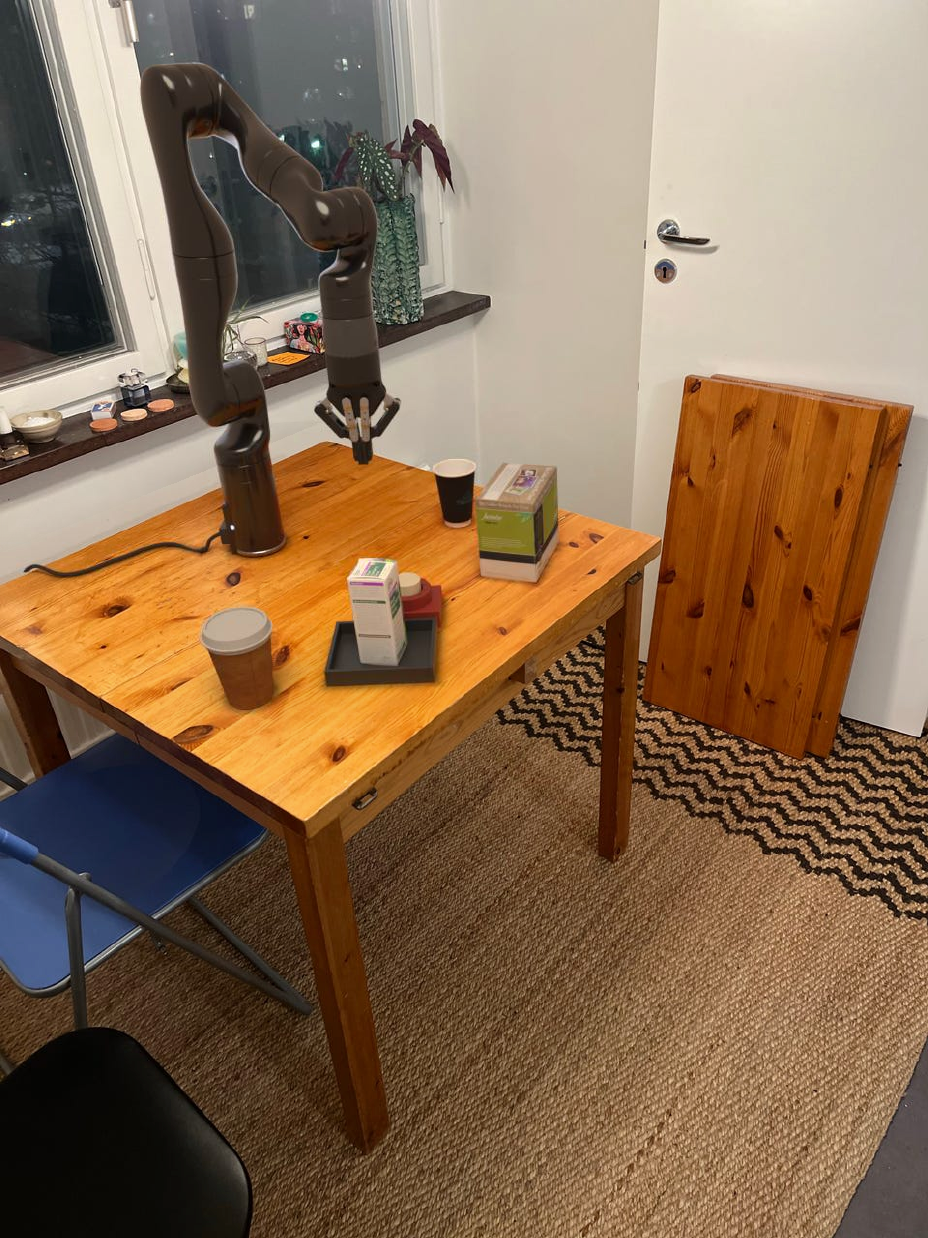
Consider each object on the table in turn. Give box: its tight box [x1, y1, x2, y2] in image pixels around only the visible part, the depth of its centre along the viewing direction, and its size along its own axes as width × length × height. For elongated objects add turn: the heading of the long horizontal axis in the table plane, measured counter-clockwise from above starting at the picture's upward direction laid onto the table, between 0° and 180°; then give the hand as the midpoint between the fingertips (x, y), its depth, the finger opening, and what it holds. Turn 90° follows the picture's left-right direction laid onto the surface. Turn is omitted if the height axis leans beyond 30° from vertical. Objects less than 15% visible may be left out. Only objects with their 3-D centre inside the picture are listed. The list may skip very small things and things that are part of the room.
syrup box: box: [346, 557, 408, 666], centre depth 129 cm, size 6×6×14 cm
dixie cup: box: [432, 458, 477, 529], centre depth 167 cm, size 8×8×11 cm
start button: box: [399, 572, 421, 597], centre depth 140 cm, size 4×4×2 cm
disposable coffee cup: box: [199, 606, 275, 710], centre depth 124 cm, size 10×10×12 cm
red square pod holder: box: [402, 577, 443, 629], centre depth 142 cm, size 10×8×5 cm
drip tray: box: [323, 617, 439, 688], centre depth 133 cm, size 15×13×3 cm
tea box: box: [475, 462, 560, 584], centre depth 152 cm, size 15×10×15 cm, turn 160°
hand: (363, 462), depth 136 cm, fingers closed
